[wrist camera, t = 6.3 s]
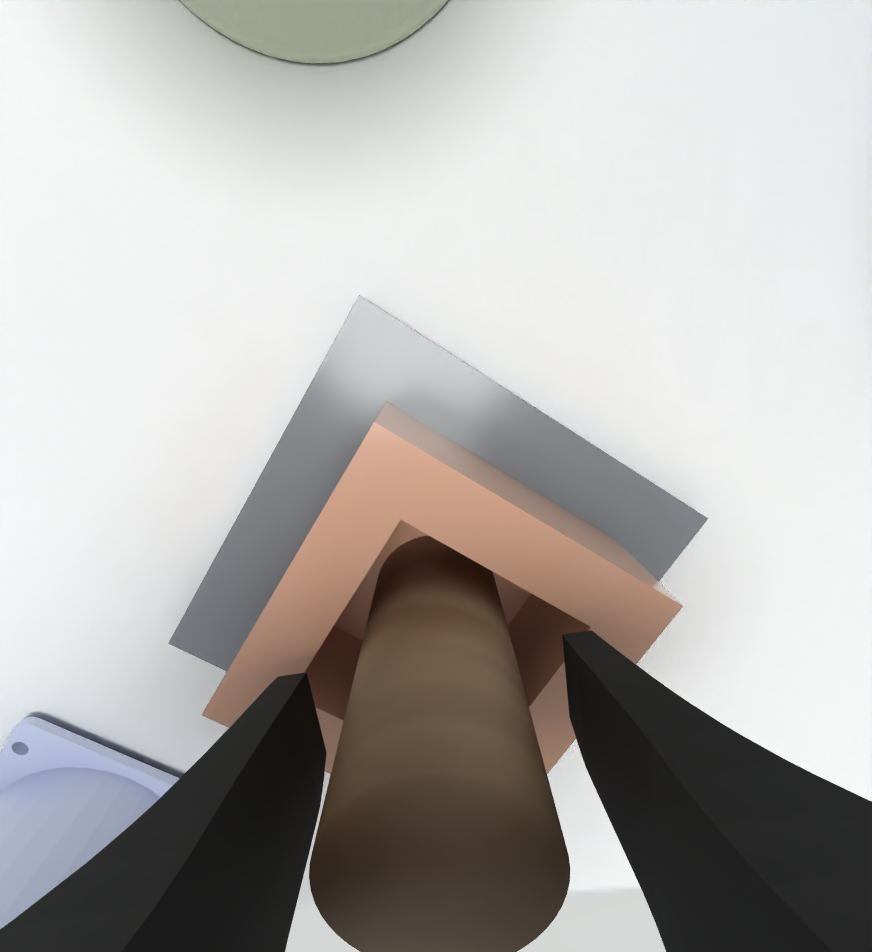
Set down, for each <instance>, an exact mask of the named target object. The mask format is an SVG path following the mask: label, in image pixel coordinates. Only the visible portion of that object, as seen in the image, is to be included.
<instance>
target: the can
mask: <svg viewBox="0 0 872 952" xmlns="http://www.w3.org/2000/svg"><path fill="white" fill-rule="evenodd" d="M180 1H181V2H182V3H183V4H184V5H185V6H186V7H187V8H188V9H189V10H190V11H191V12H193V13H194V14H195V15H196V16H198V17H199V18H200V19H201V20H203V21H204V22H205V23H207V24H208V25H209V26H211V27H212V28H214V29H215V30H217V31H218V32H220V33H222V34H223V35H225V36H226V37H228V38H230V39H231V40H233V41H235V42H237V43H239V44H241V45H243V46H245V47H247V48H250V49H252V50H255V51H258V52H260V53H263V54H265V55H268V56H272V57H276V58H280V59H285V60H289V61H295V62H303V63H333V62H343V61H348V60H352V59H357V58H361V57H366V56H368V55H371V54H374V53H376V52H379V51H382V50H384V49H386V48H388V47H390V46H392V45H394V44H396V43H397V42H399V41H401V40H403V39H405V38H406V37H408V36H409V35H410V34H412V33H413V32H415V31H416V30H417V29H419V28H420V27H421V26H423V25H424V24H425V23H426V22H427V21H428V20H429V19H430V18H432V17H433V16H434V15H435V14H436V13H437V12H438V11H439V10H440V9H441V8H442V7H443V5H444V4H445V3H446V2H447V1H448V0H180Z"/></svg>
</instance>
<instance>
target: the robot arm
mask: <svg viewBox="0 0 872 952" xmlns="http://www.w3.org/2000/svg"><path fill="white" fill-rule="evenodd" d="M562 639H563V650H564V662H565V673H566V684H567V695H568V706H569V717H570V720H571V723H572V727H573V730H574V733H575V736H576V739H577V742H578V745H579V748H580V751H581V754H582V757H583V760H584V763H585V765H586V768H587V770H588V773H589V775H590V777H591V779H592V782H593V784H594V786H595V788H596V790H597V793H598V795H599V797H600V799H601V801H602V804H603V806H604V808H605V810H606V812H607V815H608V817H609V819H610V821H611V823H612V826H613V828H614V830H615V832H616V834H617V836H618V839H619V841H620V843H621V845H622V847H623V850H624V852H625V854H626V856H627V858H628V860H629V863H630V865H631V867H632V869H633V871H634V874H635V876H636V878H637V880H638V882H639V884H640V887H641V889H642V891H643V893H644V896H645V898H646V900H647V903H648V905H649V908H650V910H651V913H652V915H653V917H654V920H655V922H656V925H657V927H658V930H659V933H660V936H661V938H662V941H663V944H664V946H665V949H666V952H872V802H871V801H869V800H867V799H865V798H862V797H860V796H858V795H856V794H854V793H852V792H850V791H848V790H846V789H844V788H841V787H839V786H837V785H835V784H833V783H831V782H829V781H827V780H825V779H823V778H820V777H818V776H816V775H814V774H812V773H810V772H808V771H806V770H804V769H802V768H800V767H798V766H796V765H795V764H793V763H791V762H789V761H787V760H785V759H783V758H781V757H779V756H778V755H776V754H774V753H772V752H770V751H769V750H767V749H765V748H763V747H761V746H760V745H758V744H756V743H754V742H752V741H751V740H749V739H747V738H745V737H743V736H742V735H740V734H738V733H737V732H735V731H733V730H732V729H730V728H728V727H726V726H725V725H723V724H722V723H720V722H718V721H717V720H715V719H714V718H712V717H711V716H709V715H707V714H706V713H704V712H703V711H701V710H700V709H698V708H697V707H695V706H693V705H692V704H690V703H689V702H687V701H686V700H684V699H683V698H681V697H680V696H678V695H677V694H676V693H674V692H673V691H671V690H670V689H668V688H667V687H666V686H664V685H663V684H661V683H660V682H659V681H657V680H656V679H654V678H653V677H652V676H650V675H649V674H648V673H646V672H645V671H644V670H642V669H641V668H640V667H638V666H637V665H636V664H634V663H633V662H632V661H631V660H629V659H628V658H627V657H625V656H624V655H623V654H621V653H620V652H619V651H618V650H616V649H615V648H614V647H612V646H611V645H610V644H609V643H607V642H606V641H605V640H603V639H602V638H601V637H600V636H598V635H597V634H596V633H594V632H593V631H592V630H590V631H583V632H576V633H569V634H563V635H562ZM326 755H327V752H326V748H325V744H324V740H323V736H322V732H321V728H320V724H319V720H318V716H317V712H316V708H315V704H314V700H313V696H312V692H311V688H310V684H309V680H308V676H307V672H306V673H299V674H292V675H285V676H278V677H277V678H276V679H275V680H274V681H273V682H272V683H271V684H270V685H269V686H268V687H267V688H266V689H265V690H264V691H263V692H262V693H261V694H260V695H259V696H258V698H257V699H256V700H255V701H254V702H253V703H252V704H251V705H250V706H249V707H248V708H247V710H246V711H245V712H244V713H243V714H242V715H241V716H240V717H239V718H238V719H237V720H236V721H235V722H234V724H233V725H232V726H231V727H230V728H229V729H228V730H227V731H226V732H225V733H224V734H223V735H222V736H221V737H220V738H219V739H218V741H217V742H216V743H215V744H214V745H213V746H212V747H211V748H210V749H209V750H208V751H207V752H206V753H205V754H204V755H203V756H202V757H201V758H200V759H199V760H198V761H197V762H196V763H195V764H194V765H193V766H192V767H191V768H190V769H189V770H188V771H187V772H186V773H185V774H184V775H183V776H182V777H181V778H178V777H175V776H173V775H171V774H168V773H166V772H164V771H161V770H159V769H157V768H154V767H152V766H150V765H147V764H145V763H143V762H140V761H138V760H136V759H133V758H131V757H129V756H126V755H124V754H122V753H119V752H117V751H115V750H112V749H110V748H108V747H105V746H103V745H101V744H98V743H96V742H94V741H91V740H89V739H87V738H84V737H82V736H80V735H77V734H75V733H73V732H70V731H68V730H66V729H63V728H61V727H59V726H56V725H54V724H52V723H49V722H47V721H45V720H42V719H40V718H36V717H27V718H24V719H22V720H21V721H20V722H19V723H18V724H17V725H16V726H15V727H14V728H13V729H12V730H11V732H10V735H9V737H8V739H7V741H6V743H5V745H4V747H3V749H2V751H1V753H0V952H285V949H286V944H287V940H288V935H289V932H290V928H291V924H292V920H293V915H294V911H295V907H296V903H297V899H298V895H299V891H300V887H301V883H302V879H303V875H304V871H305V867H306V863H307V859H308V855H309V850H310V846H311V842H312V838H313V834H314V830H315V825H316V821H317V817H318V813H319V808H320V802H321V795H322V788H323V781H324V772H325V763H326Z"/></svg>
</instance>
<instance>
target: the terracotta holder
mask: <svg viewBox="0 0 872 952" xmlns="http://www.w3.org/2000/svg"><path fill="white" fill-rule="evenodd" d="M707 519H708V518H706V517H705V516H703V515H702V514H700V513H698V512H697V511H695V510H694V509H692V508H691V507H689V506H688V505H686V504H684V503H683V502H681V501H680V500H678V499H677V498H675V497H673V496H672V495H670V494H669V493H667V492H666V491H664V490H663V489H661V488H659V487H658V486H656V485H655V484H653V483H652V482H650V481H649V480H647V479H645V478H644V477H642V476H641V475H639V474H638V473H636V472H634V471H633V470H631V469H630V468H628V467H627V466H625V465H624V464H622V463H620V462H619V461H617V460H616V459H614V458H613V457H611V456H609V455H608V454H606V453H605V452H603V451H602V450H600V449H599V448H597V447H595V446H594V445H592V444H591V443H589V442H588V441H586V440H584V439H583V438H581V437H580V436H578V435H577V434H575V433H574V432H572V431H570V430H569V429H567V428H566V427H564V426H563V425H561V424H559V423H558V422H556V421H555V420H553V419H552V418H550V417H549V416H547V415H545V414H544V413H542V412H541V411H539V410H538V409H536V408H535V407H533V406H531V405H530V404H528V403H527V402H525V401H524V400H522V399H520V398H519V397H517V396H516V395H514V394H513V393H511V392H510V391H508V390H506V389H505V388H503V387H502V386H500V385H499V384H497V383H495V382H494V381H492V380H491V379H489V378H488V377H486V376H485V375H483V374H481V373H480V372H478V371H477V370H475V369H474V368H472V367H470V366H469V365H467V364H466V363H464V362H463V361H461V360H460V359H458V358H456V357H455V356H453V355H452V354H450V353H449V352H447V351H445V350H444V349H442V348H441V347H439V346H438V345H436V344H435V343H433V342H431V341H430V340H428V339H427V338H425V337H424V336H422V335H421V334H419V333H417V332H416V331H414V330H413V329H411V328H410V327H408V326H406V325H405V324H403V323H402V322H400V321H399V320H397V319H396V318H394V317H392V316H391V315H389V314H388V313H386V312H385V311H383V310H381V309H380V308H378V307H377V306H375V305H374V304H372V303H371V302H369V301H367V300H366V299H364V298H363V297H361V296H360V295H359V296H358V298H357V300H356V302H355V304H354V306H353V307H352V309H351V311H350V313H349V315H348V316H347V318H346V320H345V322H344V324H343V326H342V327H341V329H340V331H339V333H338V335H337V337H336V338H335V340H334V342H333V344H332V346H331V348H330V349H329V351H328V353H327V355H326V357H325V358H324V360H323V362H322V364H321V366H320V368H319V369H318V371H317V373H316V375H315V377H314V379H313V380H312V382H311V384H310V386H309V388H308V389H307V391H306V393H305V395H304V397H303V399H302V400H301V402H300V404H299V406H298V408H297V410H296V411H295V413H294V415H293V417H292V419H291V421H290V422H289V424H288V426H287V428H286V430H285V431H284V433H283V435H282V437H281V439H280V441H279V442H278V444H277V446H276V448H275V450H274V452H273V453H272V455H271V457H270V459H269V461H268V462H267V464H266V466H265V468H264V470H263V472H262V473H261V475H260V477H259V479H258V481H257V483H256V484H255V486H254V488H253V490H252V492H251V494H250V495H249V497H248V499H247V501H246V503H245V504H244V506H243V508H242V510H241V512H240V514H239V515H238V517H237V519H236V521H235V523H234V525H233V526H232V528H231V530H230V532H229V534H228V535H227V537H226V539H225V541H224V543H223V545H222V546H221V548H220V550H219V552H218V554H217V556H216V557H215V559H214V561H213V563H212V565H211V567H210V568H209V570H208V572H207V574H206V576H205V577H204V579H203V581H202V583H201V585H200V587H199V588H198V590H197V592H196V594H195V596H194V598H193V599H192V601H191V603H190V605H189V607H188V608H187V610H186V612H185V614H184V616H183V618H182V619H181V621H180V623H179V625H178V627H177V629H176V630H175V632H174V634H173V636H172V638H171V640H170V641H169V644H171V645H173V646H175V647H177V648H179V649H181V650H183V651H185V652H188V653H190V654H192V655H194V656H196V657H198V658H200V659H202V660H204V661H206V662H209V663H211V664H213V665H215V666H217V667H219V668H221V669H223V670H225V671H227V673H226V675H225V676H224V678H223V680H222V681H221V683H220V685H219V686H218V688H217V690H216V692H215V693H214V695H213V697H212V698H211V700H210V702H209V703H208V705H207V707H206V709H205V710H204V712H203V714H202V715H203V716H205V717H207V718H209V719H211V720H214V721H216V722H218V723H220V724H222V725H225V726H227V727H229V728H230V727H231V726H232V725H233V724H234V722H235V721H236V720H237V719H238V718H239V717H240V716H241V715H242V714H243V713H244V712H245V711H246V710H247V708H248V707H249V706H250V705H251V704H252V703H253V702H254V701H255V700H256V699H257V698H258V696H259V695H260V694H261V693H262V692H263V691H264V690H265V689H266V688H267V687H268V686H269V685H270V684H271V683H272V682H273V681H274V680H275V679H276V678H277V677H278V676H285V675H292V674H299V673H306V672H307V676H308V680H309V684H310V688H311V692H312V696H313V700H314V704H315V708H316V712H317V716H318V720H319V724H320V728H321V732H322V736H323V740H324V744H325V748H326V752H327V755H326V763H325V771H326V772H328V773H330V774H331V772H332V767H333V763H334V759H335V755H336V751H337V746H338V742H339V738H340V734H341V730H342V725H343V721H344V717H345V713H346V709H347V704H348V700H349V696H350V692H351V688H352V683H353V679H354V675H355V671H356V667H357V662H358V658H359V654H360V650H361V646H362V641H363V637H364V633H365V629H366V625H367V620H368V616H369V612H370V608H371V604H372V599H373V595H374V591H375V587H376V583H377V578H378V575H379V572H380V569H381V567H382V565H383V564H384V562H385V560H386V559H387V558H388V556H389V555H390V554H391V553H392V552H393V551H394V550H396V549H397V548H398V547H399V546H401V545H403V544H404V543H406V542H408V541H410V540H412V539H415V538H419V537H422V536H428V535H429V536H431V537H433V538H434V539H436V540H438V541H440V542H441V543H443V544H445V545H447V546H449V547H450V548H452V549H454V550H456V551H457V552H459V553H461V554H463V555H464V556H466V557H468V558H470V559H472V560H473V561H475V562H477V563H479V564H480V565H482V566H484V567H486V568H487V569H489V570H491V571H493V575H494V578H495V582H496V585H497V589H498V593H499V597H500V600H501V604H502V608H503V612H504V615H505V619H506V623H507V627H508V630H509V634H510V638H511V642H512V645H513V649H514V653H515V657H516V660H517V664H518V668H519V672H520V675H521V679H522V683H523V687H524V691H525V694H526V698H527V702H528V706H529V709H530V713H531V717H532V721H533V724H534V728H535V732H536V736H537V739H538V743H539V747H540V751H541V754H542V758H543V762H544V766H545V769H546V773H547V774H548V772H549V771H550V770H551V769H552V767H553V766H554V765H555V764H556V763H557V761H558V760H559V759H560V758H561V756H562V755H563V754H564V753H565V751H566V750H567V749H568V748H569V746H570V745H571V744H572V743H573V742H574V740H575V739H576V736H575V733H574V730H573V727H572V723H571V720H570V717H569V706H568V695H567V684H566V673H565V662H564V650H563V639H562V635H563V634H569V633H576V632H583V631H590V630H592V631H593V632H594V633H596V634H597V635H598V636H600V637H601V638H602V639H603V640H605V641H606V642H607V643H609V644H610V645H611V646H612V647H614V648H615V649H616V650H618V651H619V652H620V653H621V654H623V655H624V656H625V657H627V658H628V659H629V660H631V661H632V662H633V663H634V664H637V662H638V661H639V660H640V659H641V658H642V656H643V655H644V654H645V653H646V651H647V650H648V649H649V648H650V646H651V645H652V644H653V643H654V641H655V640H656V639H657V638H658V637H659V635H660V634H661V633H662V632H663V630H664V629H665V628H666V627H667V625H668V624H669V623H670V622H671V620H672V619H673V618H674V617H675V616H676V614H677V613H678V612H679V611H680V609H681V608H682V607H683V605H682V604H681V603H680V602H679V601H678V600H677V599H676V598H675V597H674V596H673V595H672V594H670V593H669V592H668V591H667V590H666V589H665V588H664V587H663V586H662V585H661V584H660V583H659V581H660V579H661V578H662V577H663V575H664V574H665V573H666V572H667V570H668V569H669V568H670V567H671V565H672V564H673V563H674V561H675V560H676V559H677V558H678V556H679V555H680V554H681V553H682V551H683V550H684V549H685V547H686V546H687V545H688V544H689V542H690V541H691V540H692V539H693V537H694V536H695V535H696V533H697V532H698V531H699V530H700V528H701V527H702V526H703V525H704V523H705V522H706V521H707Z"/></svg>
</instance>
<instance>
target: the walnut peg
mask: <svg viewBox="0 0 872 952" xmlns="http://www.w3.org/2000/svg"><path fill="white" fill-rule="evenodd" d="M309 880H310V887H311V892H312V895H313V898H314V901H315V904H316V906H317V908H318V910H319V912H320V914H321V915H322V917H323V918H324V920H325V921H326V922H327V924H328V925H329V926H330V927H331V928H332V929H333V931H334V932H335V933H336V934H337V935H338V936H340V937H341V938H342V939H343V940H344V941H346V942H347V943H348V944H349V945H351V946H352V947H354V948H356V949H357V950H359V951H360V952H517V951H518V950H520V949H522V948H523V947H525V946H526V945H528V944H529V943H530V942H532V941H533V940H534V939H536V938H537V937H538V936H539V935H540V934H541V933H542V932H543V931H544V930H545V929H546V928H547V927H548V926H549V925H550V923H551V922H552V921H553V920H554V918H555V917H556V915H557V914H558V912H559V910H560V909H561V907H562V905H563V902H564V899H565V897H566V895H567V891H568V886H569V882H570V864H569V856H568V852H567V848H566V845H565V841H564V837H563V833H562V830H561V826H560V822H559V818H558V815H557V811H556V807H555V803H554V799H553V796H552V792H551V788H550V784H549V781H548V777H547V773H546V769H545V766H544V762H543V758H542V754H541V751H540V747H539V743H538V739H537V736H536V732H535V728H534V724H533V721H532V717H531V713H530V709H529V706H528V702H527V698H526V694H525V691H524V687H523V683H522V679H521V675H520V672H519V668H518V664H517V660H516V657H515V653H514V649H513V645H512V642H511V638H510V634H509V630H508V627H507V623H506V619H505V615H504V612H503V608H502V604H501V600H500V597H499V593H498V589H497V585H496V582H495V578H494V575H493V571H491V570H489V569H487V568H486V567H484V566H482V565H480V564H479V563H477V562H475V561H473V560H472V559H470V558H468V557H466V556H464V555H463V554H461V553H459V552H457V551H456V550H454V549H452V548H450V547H449V546H447V545H445V544H443V543H441V542H440V541H438V540H436V539H434V538H433V537H431V536H429V535H428V536H422V537H419V538H415V539H412V540H410V541H408V542H406V543H404V544H403V545H401V546H399V547H398V548H397V549H396V550H394V551H393V552H392V553H391V554H390V555H389V556H388V558H387V559H386V560H385V562H384V564H383V565H382V567H381V569H380V572H379V575H378V578H377V583H376V587H375V591H374V595H373V599H372V604H371V608H370V612H369V616H368V620H367V625H366V629H365V633H364V637H363V641H362V646H361V650H360V654H359V658H358V662H357V667H356V671H355V675H354V679H353V683H352V688H351V692H350V696H349V700H348V704H347V709H346V713H345V717H344V721H343V725H342V730H341V734H340V738H339V742H338V746H337V751H336V755H335V759H334V763H333V767H332V772H331V776H330V780H329V784H328V788H327V793H326V797H325V801H324V805H323V809H322V814H321V818H320V822H319V826H318V830H317V835H316V839H315V843H314V847H313V851H312V856H311V861H310V870H309Z"/></svg>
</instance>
